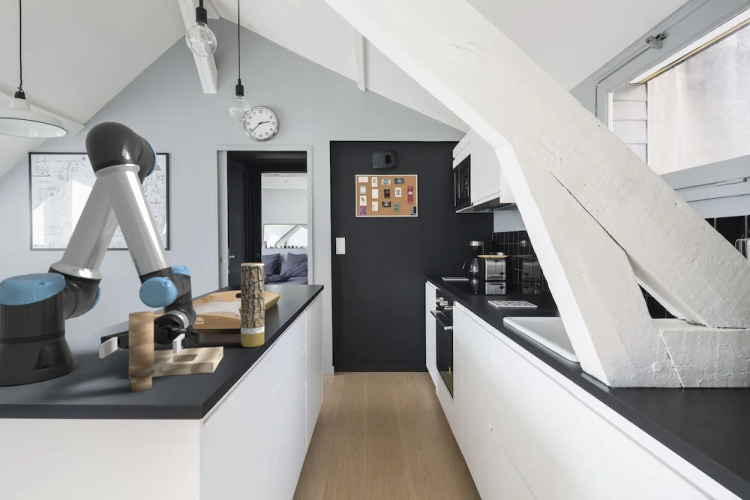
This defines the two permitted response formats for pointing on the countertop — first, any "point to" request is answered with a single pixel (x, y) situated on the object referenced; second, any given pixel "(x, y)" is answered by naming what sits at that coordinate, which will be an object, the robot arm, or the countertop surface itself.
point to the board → (186, 361)
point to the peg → (141, 350)
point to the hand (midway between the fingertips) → (138, 349)
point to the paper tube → (252, 304)
